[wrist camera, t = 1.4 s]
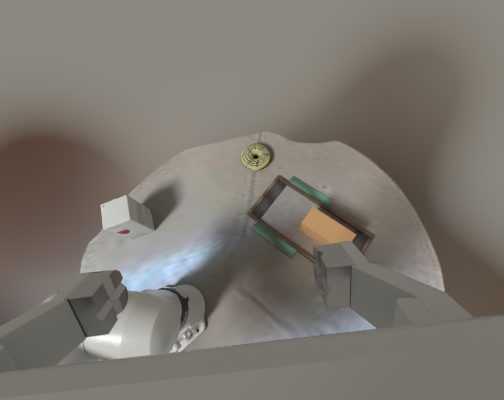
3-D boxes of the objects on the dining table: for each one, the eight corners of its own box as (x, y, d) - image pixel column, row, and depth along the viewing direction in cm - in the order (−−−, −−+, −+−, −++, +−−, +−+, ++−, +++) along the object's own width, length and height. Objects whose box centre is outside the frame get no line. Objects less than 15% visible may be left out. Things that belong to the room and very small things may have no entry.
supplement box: (131, 240, 84) (101, 230, 70) (128, 217, 87) (99, 204, 73) (155, 231, 84) (130, 219, 70) (151, 209, 87) (126, 193, 73)
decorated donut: (257, 177, 87) (256, 172, 83) (236, 161, 90) (235, 156, 87) (275, 158, 89) (275, 152, 85) (255, 143, 92) (254, 137, 89)
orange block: (337, 256, 73) (344, 251, 64) (299, 230, 78) (301, 222, 68) (347, 241, 75) (356, 234, 65) (309, 216, 79) (313, 206, 70)
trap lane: (337, 292, 70) (337, 292, 69) (242, 221, 81) (241, 220, 81) (378, 229, 75) (379, 228, 74) (283, 170, 86) (283, 169, 86)
